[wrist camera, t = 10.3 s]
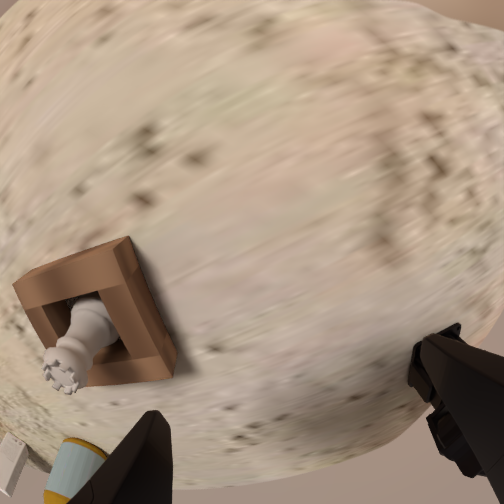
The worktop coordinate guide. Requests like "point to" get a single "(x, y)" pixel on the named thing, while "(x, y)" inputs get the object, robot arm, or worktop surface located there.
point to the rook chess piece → (79, 344)
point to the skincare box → (11, 462)
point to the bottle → (72, 470)
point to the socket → (116, 303)
